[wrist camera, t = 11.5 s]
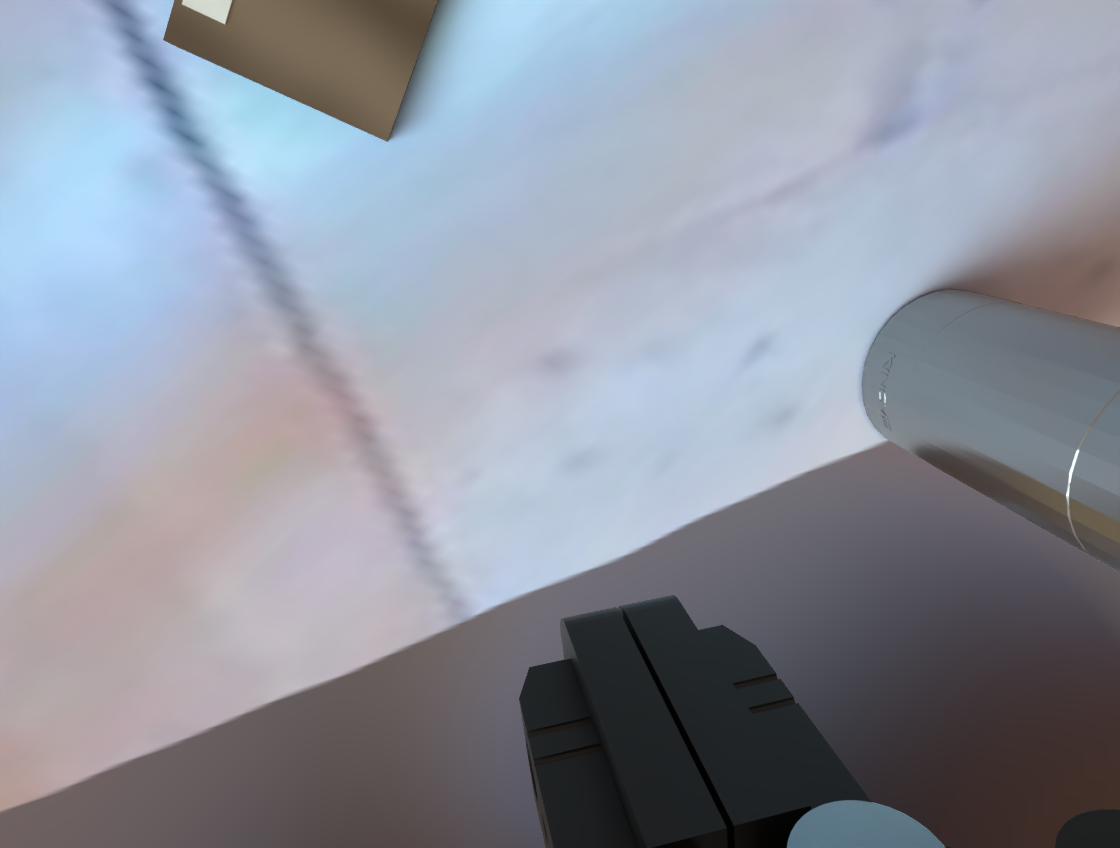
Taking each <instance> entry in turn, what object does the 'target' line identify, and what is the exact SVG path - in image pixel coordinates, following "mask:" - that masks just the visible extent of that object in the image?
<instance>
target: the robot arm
mask: <svg viewBox="0 0 1120 848" xmlns="http://www.w3.org/2000/svg"><path fill="white" fill-rule="evenodd" d="M862 394H863V402H864V406H865V409H866V412H867V415H868V417H869V419H870V421H871V422H872V424H873V426H874V427H875V428H876V429H877V430H878V431H879V432H880V433H881V434H882V435H883V436H884V437H885V438H886V439H888V440H890V441H892V442H894V443H895V444H897V445H899V446H900V447H902V448H904V449H905V450H907V451H909V452H911V453H912V454H914V455H916V456H917V457H919V458H921V459H923V460H924V461H926V462H928V463H929V464H931V465H932V466H934V467H936V468H937V469H939V470H941V471H943V472H944V473H946V474H948V475H950V476H952V477H953V478H955V479H957V480H958V481H960V482H962V483H964V484H965V485H967V486H969V487H971V488H973V489H974V490H976V491H978V492H979V493H981V494H983V495H985V496H986V497H988V498H990V499H992V500H993V501H995V502H997V503H999V504H1000V505H1002V506H1004V507H1006V508H1007V509H1009V510H1011V511H1013V512H1014V513H1016V514H1018V515H1020V516H1021V517H1023V518H1025V519H1026V520H1028V521H1030V522H1032V523H1033V524H1035V525H1037V526H1039V527H1040V528H1042V529H1044V530H1046V531H1047V532H1049V533H1051V534H1053V535H1055V536H1056V537H1058V538H1060V539H1061V540H1063V541H1065V542H1067V543H1068V544H1070V545H1072V546H1074V547H1076V548H1077V549H1079V550H1081V551H1083V552H1084V553H1086V554H1088V555H1090V556H1091V557H1093V558H1095V559H1096V560H1099V561H1100V562H1102V563H1104V564H1106V565H1107V566H1109V567H1111V568H1113V569H1114V570H1116V571H1118V572H1120V327H1116V326H1111V325H1107V324H1103V323H1099V322H1095V321H1090V320H1086V319H1082V318H1078V317H1073V316H1069V315H1065V314H1061V313H1057V312H1052V311H1048V310H1044V309H1040V308H1036V307H1031V306H1027V305H1024V304H1020V303H1016V302H1012V301H1008V300H1003V299H999V298H995V297H991V296H986V295H982V294H978V293H974V292H969V291H963V290H953V289H950V290H943V291H936V292H933V293H930V294H927V295H925V296H922V297H919V298H917V299H916V300H914V301H913V302H911V303H909V304H908V305H906V306H904V307H903V308H902V309H901V310H900V311H899V312H898V313H896V314H895V315H894V316H893V317H892V318H891V319H890V320H889V321H888V322H887V324H886V325H885V326H884V328H883V329H882V330H881V331H880V333H879V334H878V336H877V338H876V339H875V341H874V343H873V345H872V347H871V349H870V351H869V354H868V357H867V360H866V363H865V366H864V372H863V379H862ZM560 625H561V637H562V645H563V653H564V660H561V661H557V662H552V663H547V664H543V665H538V666H534V667H530V668H529V670H528V673H527V676H526V679H525V682H524V685H523V689H522V692H521V695H520V698H519V701H520V707H521V714H522V720H523V726H524V733H525V740H526V746H527V753H528V760H529V766H530V772H531V779H532V785H533V792H534V797H535V802H536V807H537V811H538V816H539V820H540V825H541V829H542V832H543V838H544V843H545V848H951V847H946V846H944V845H943V844H942V843H941V842H940V841H939V840H938V839H937V838H936V837H935V836H934V835H933V834H932V833H931V832H930V831H929V830H928V829H926V828H925V827H924V826H922V825H921V824H920V823H918V822H917V821H915V820H914V819H912V818H910V817H909V816H907V815H905V814H903V813H901V812H899V811H897V810H894V809H892V808H890V807H887V806H883V805H880V804H876V803H872V801H871V800H870V799H869V798H868V797H867V795H866V794H865V793H864V791H863V790H862V789H861V787H860V786H859V785H858V783H857V782H856V780H855V779H854V778H853V776H852V775H851V774H850V772H849V771H848V770H847V768H846V767H845V766H844V764H843V763H842V762H841V760H840V759H839V758H838V756H837V755H836V753H835V752H834V751H833V749H832V748H831V747H830V745H829V744H828V743H827V741H826V740H825V739H824V737H823V736H822V735H821V733H820V732H819V731H818V729H817V728H816V726H815V725H814V724H813V723H812V721H811V720H810V718H809V717H808V716H807V714H806V713H805V712H804V710H803V709H802V708H801V706H800V705H799V704H798V703H797V704H796V703H795V701H794V697H793V695H792V694H791V693H790V691H789V690H788V689H787V687H786V686H785V685H784V683H783V682H782V681H781V679H777V676H776V672H775V671H774V670H773V668H772V667H771V666H770V664H769V663H768V662H767V660H766V659H765V658H764V656H763V655H762V654H761V652H760V651H759V649H758V648H757V647H756V646H755V645H754V644H752V643H751V642H749V641H748V640H746V639H744V638H743V637H741V636H739V635H738V634H736V633H735V632H733V631H732V630H730V629H728V628H727V627H725V626H723V625H720V626H716V627H711V628H707V629H702V630H698V629H697V628H696V626H695V624H694V623H693V621H692V620H691V618H690V617H689V615H688V614H687V612H686V611H685V609H684V608H683V606H682V604H681V603H680V602H679V600H678V598H677V597H676V596H674V595H670V596H666V597H661V598H656V599H651V600H647V601H642V602H638V603H632V604H628V605H623V606H619V607H618V609H617V608H616V607H614V608H610V609H605V610H600V611H595V612H591V613H586V614H581V615H577V616H572V617H567V618H562V619H561V621H560ZM1055 848H1120V810H1095V811H1089V812H1085V813H1082V814H1079V815H1077V816H1075V817H1073V818H1072V819H1070V820H1069V821H1067V822H1066V823H1065V824H1064V825H1063V827H1062V828H1061V829H1060V831H1059V833H1058V836H1057V838H1056V845H1055Z"/></svg>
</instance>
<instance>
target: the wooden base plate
mask: <svg viewBox="0 0 1120 848" xmlns="http://www.w3.org/2000/svg"><path fill="white" fill-rule="evenodd" d="M437 2H438V0H174V4H173V7H172V11H171V15H170V18H169V22H168V25H167V29H166V32H165V36H164V39H163V40H164V41H166V42H168V43H170V44H172V45H174V46H177V47H179V48H181V49H183V50H185V51H188V52H190V53H192V54H194V55H196V56H199V57H201V58H203V59H205V60H208V61H210V62H212V63H214V64H216V65H219V66H221V67H223V68H225V69H228V70H230V71H232V72H234V73H236V74H239V75H241V76H243V77H245V78H247V79H250V80H252V81H254V82H256V83H259V84H261V85H263V86H265V87H267V88H270V89H272V90H274V91H276V92H279V93H281V94H283V95H285V96H287V97H290V98H292V99H294V100H296V101H298V102H301V103H303V104H305V105H307V106H310V107H312V108H314V109H316V110H318V111H321V112H323V113H325V114H327V115H330V116H332V117H334V118H336V119H338V120H341V121H343V122H345V123H347V124H349V125H352V126H354V127H356V128H358V129H361V130H363V131H365V132H367V133H369V134H372V135H374V136H376V137H378V138H381V139H383V140H385V141H387V142H388V139H389V136H390V133H391V130H392V128H393V125H394V122H395V119H396V116H397V114H398V111H399V108H400V105H401V103H402V100H403V97H404V94H405V91H406V89H407V86H408V83H409V80H410V77H411V75H412V72H413V69H414V66H415V63H416V61H417V58H418V55H419V52H420V49H421V47H422V44H423V41H424V38H425V35H426V33H427V30H428V27H429V24H430V22H431V19H432V16H433V13H434V10H435V8H436V5H437Z"/></svg>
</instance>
